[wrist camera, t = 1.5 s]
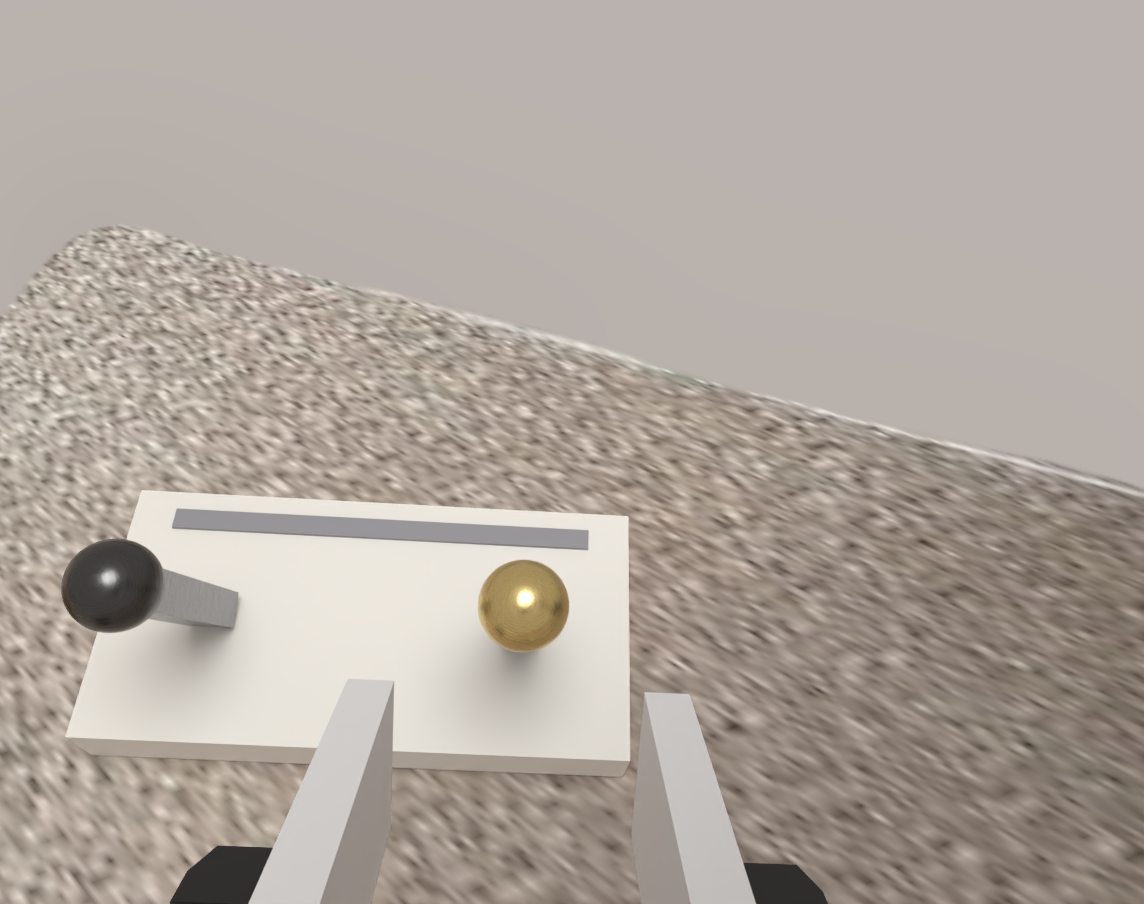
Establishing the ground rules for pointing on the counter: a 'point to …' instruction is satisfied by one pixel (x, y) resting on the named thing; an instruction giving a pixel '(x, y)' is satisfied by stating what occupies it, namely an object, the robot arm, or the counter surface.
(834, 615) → the counter surface
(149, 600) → the black lever
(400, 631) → the control panel
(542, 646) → the brass lever
